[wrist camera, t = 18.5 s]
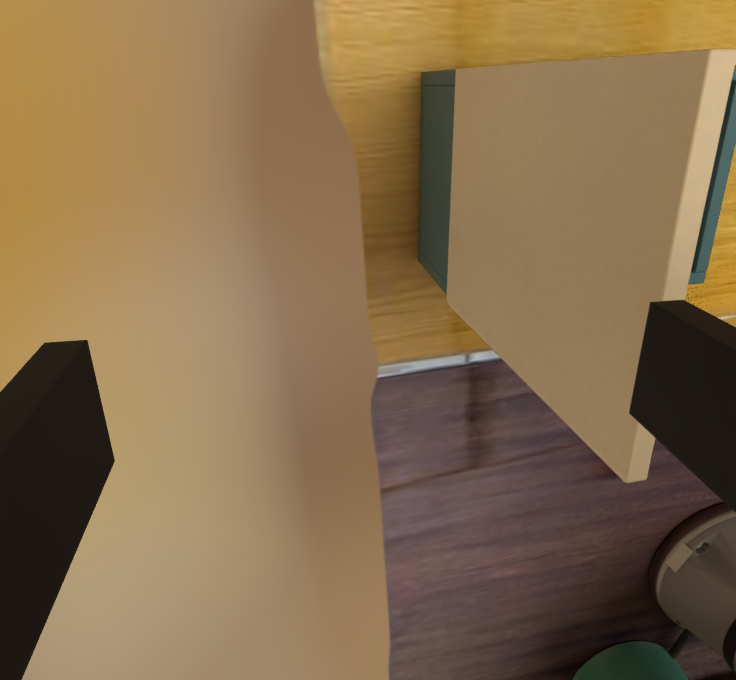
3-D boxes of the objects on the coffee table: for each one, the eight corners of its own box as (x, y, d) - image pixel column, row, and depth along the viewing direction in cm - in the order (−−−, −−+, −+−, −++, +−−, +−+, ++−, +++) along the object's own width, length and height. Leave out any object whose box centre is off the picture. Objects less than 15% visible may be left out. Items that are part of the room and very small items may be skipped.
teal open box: (658, 68, 40) (753, 64, 32) (628, 248, 45) (704, 283, 37) (421, 72, 38) (460, 68, 30) (417, 260, 43) (450, 300, 35)
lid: (739, 48, 14) (711, 48, 14) (647, 481, 19) (625, 484, 19) (470, 68, 30) (455, 68, 29) (458, 302, 35) (445, 303, 35)
